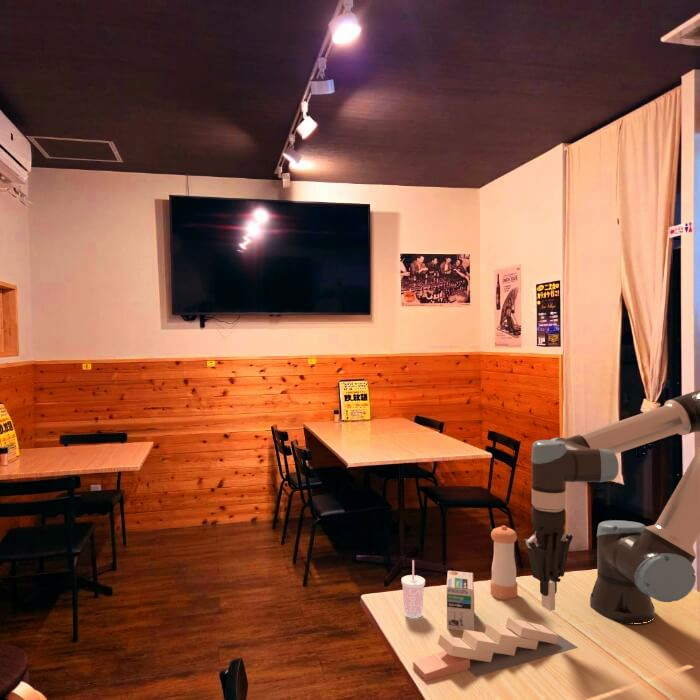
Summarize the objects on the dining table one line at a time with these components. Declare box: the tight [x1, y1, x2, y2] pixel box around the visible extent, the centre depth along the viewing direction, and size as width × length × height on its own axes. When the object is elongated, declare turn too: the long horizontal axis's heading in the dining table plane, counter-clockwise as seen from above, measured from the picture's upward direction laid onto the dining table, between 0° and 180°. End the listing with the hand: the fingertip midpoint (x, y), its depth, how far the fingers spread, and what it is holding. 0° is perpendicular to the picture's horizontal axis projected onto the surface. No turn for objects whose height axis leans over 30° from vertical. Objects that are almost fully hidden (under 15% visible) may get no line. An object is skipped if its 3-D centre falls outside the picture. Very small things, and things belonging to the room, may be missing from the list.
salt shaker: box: [490, 525, 518, 601], centre depth 154 cm, size 7×7×19 cm
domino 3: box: [484, 623, 538, 650], centre depth 125 cm, size 2×5×11 cm
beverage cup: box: [401, 559, 426, 619], centre depth 143 cm, size 6×6×14 cm
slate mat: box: [467, 624, 578, 677], centre depth 126 cm, size 28×11×1 cm, turn 113°
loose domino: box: [461, 630, 516, 656], centre depth 123 cm, size 2×5×11 cm
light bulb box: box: [446, 570, 475, 631], centre depth 139 cm, size 11×7×11 cm, turn 168°
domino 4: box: [505, 617, 559, 644], centre depth 128 cm, size 2×5×11 cm
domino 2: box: [437, 634, 493, 662], centre depth 120 cm, size 2×5×11 cm
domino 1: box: [412, 650, 470, 682], centre depth 118 cm, size 2×5×11 cm
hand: (548, 607), depth 130 cm, fingers closed
